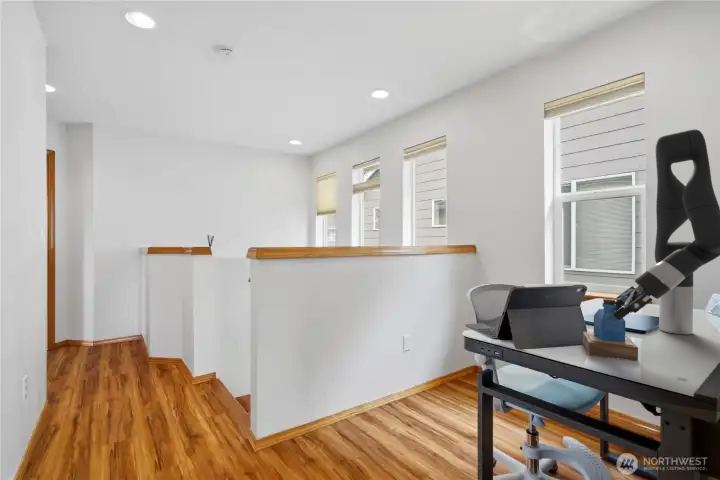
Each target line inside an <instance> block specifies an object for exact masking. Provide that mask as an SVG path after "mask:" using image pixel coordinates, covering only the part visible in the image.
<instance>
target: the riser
mask: <svg viewBox="0 0 720 480" xmlns="http://www.w3.org/2000/svg"><path fill="white" fill-rule="evenodd" d="M582 345H583V347H584V348H585V350H586V352H587V354H588V356H593V357H601V358H608V357H609V359H617V358H619V359H620V360H625V359H628V360H627V361H636V362H639V346H638V345H637V344H636V343H635V342H633V340H632V339H630V338H629V336H628V335H625V342H620V341H602V340H601V339H599V338H598V337H596V336H595V335H594V331H593V332H592V331H582Z"/></svg>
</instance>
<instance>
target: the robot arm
mask: <svg viewBox="0 0 720 480" xmlns="http://www.w3.org/2000/svg"><path fill="white" fill-rule="evenodd" d="M687 161H688V162H689V161H692V162H693V163H692V164H693V170H692V173H691V176H690V177H689V179H688V181H687V183H686V185H685V184H684V183H682V182H681V181H680V180H679V179H678V177H677V176H676V175H675V174H674V173H673V171H672V165H673V164H677V163H681V162H687ZM655 164H656V175H657V176H656V177H657V178H656V179H657V180H656V181H657V184H656V187H657V188H656V190H657V191H656V202H655V203H656V206H655V207H656V209H655V211H656V236H655V243H654V244H655V245H654V260H655V262H656V263H655V264H654V265H652V266H651V267H650V268H648V270H646V271H645V272H643V273H642V274H640V275H639V276H638V277H637V278H635V279H634V283H635V284H636V285H638V286H637V287H634V286H633V285H632V286H630V287H629V288H627V289H626V290H625V291H623V292H622V293H621V294H619V295H618V296H617V297H616V300H615V304H616V308H615V310H616V312H615V313H614V314H613V316H614V317H615V318H617V319H618V320H621V319H622V318H623V319H624V318H625V317H626V316H627V315H629V314H630V313H631V314H632V313H634V314H637V313H638V312H639V311H640V310H642V309H643V308H644V307H645V306H646V305H648V304H650V303H651V302H652V301H653V299H652V298H654V299H656V300H658V299H659V310H658V311H659V313H658V314H659V315H658V316H659V317H658V318H659V319H658V321H659V322H658V330H660V331H663V332H666V333H670V334H674V335H675V334H676V335H686V336H687V335H693V333H694V332H693V331H694V327H693V326H694V272H696V271H697V270H698V269H700V267H702V266H704V265H706V264H708V263H710V262H711V261H712V262H713V260H714V259H717V258H718V257H720V205H719V202H718V200H717V196H716V194H715V191H714V185H713V182H712V175H711V173H712V172H711V166H710V159H709V153H708V147H707V142H706V138H705V136H704V134H703V133H702V131H700V130H698V129H688V130H685V131H680V132H675V133H670V134H666V135H662V136H659V137H658V138H657V140H656V142H655ZM687 221H689V222H690V225H691V228H692V232H693V233H692V234H693V236H694V240H693V241H692V242H691V241H669V240H670V238H671V237H672V235H673V234H674V233H675V232H676V231H677V230H678V229H679V228H680V227H681V226H683V224H685V223H686V222H687ZM651 297H652V298H651Z"/></svg>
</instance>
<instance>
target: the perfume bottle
mask: <svg viewBox="0 0 720 480" xmlns="http://www.w3.org/2000/svg"><path fill="white" fill-rule="evenodd" d="M602 301H603V302H602V304H601V305H602V307H603V308H598V310H597V311H596V312H595V314H594V315H593V332H594V335H595V336H596V337H598V338H599V339H601V340H602V341H620V342H625V336H626V321H625V320H626V319H625V318H624V317H623V318H622V319H621V320H618V319H617V318H615V317H614V316H613V314H614V313H615V312H616V310H615V308H616V304H615V302H616V300H615V299H611V298H610V299H609V298H604V299H602Z"/></svg>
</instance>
